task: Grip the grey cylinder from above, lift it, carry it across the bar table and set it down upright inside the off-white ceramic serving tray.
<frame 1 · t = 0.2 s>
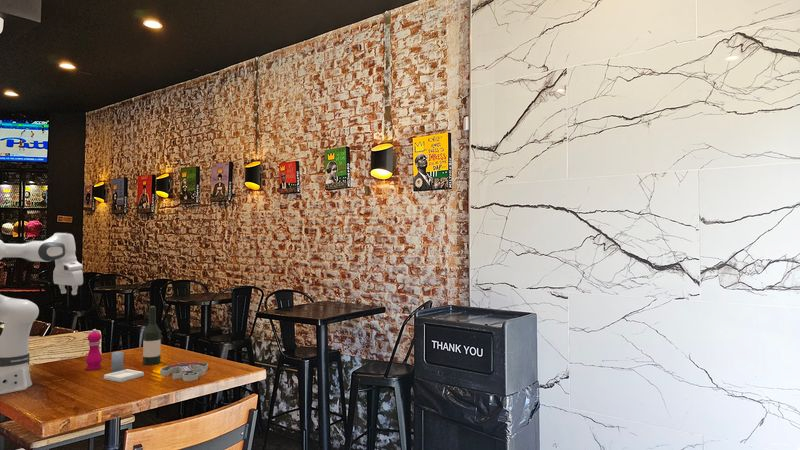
hand: (69, 293, 255), 39 cm above the table, tool pointing down, fingers open, 8 cm apart
serving tray: (124, 377, 249), on the table
decorative sign: (186, 374, 257), on the table
grey cylinder: (117, 370, 262), on the table
wine bottle: (151, 363, 277), on the table
pepper mill: (93, 369, 266), on the table
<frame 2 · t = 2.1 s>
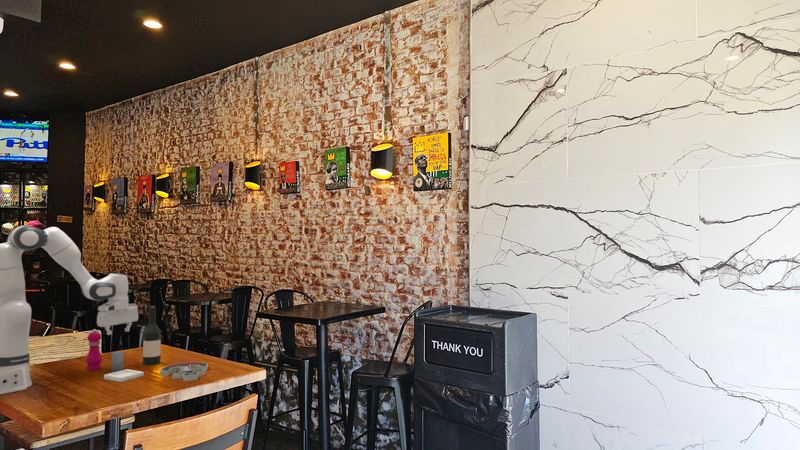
hand: (118, 333, 263), 19 cm above the table, tool pointing down, fingers open, 8 cm apart
nothing on the table moved.
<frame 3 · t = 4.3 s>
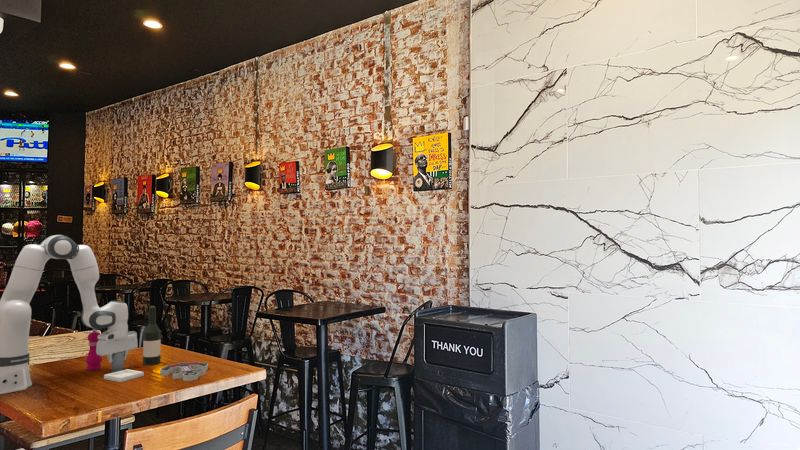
hand: (117, 361, 262), 5 cm above the table, tool pointing down, fingers closed on grey cylinder, 5 cm apart
grey cylinder: (117, 370, 262), on the table, touching gripper
everything else where it was.
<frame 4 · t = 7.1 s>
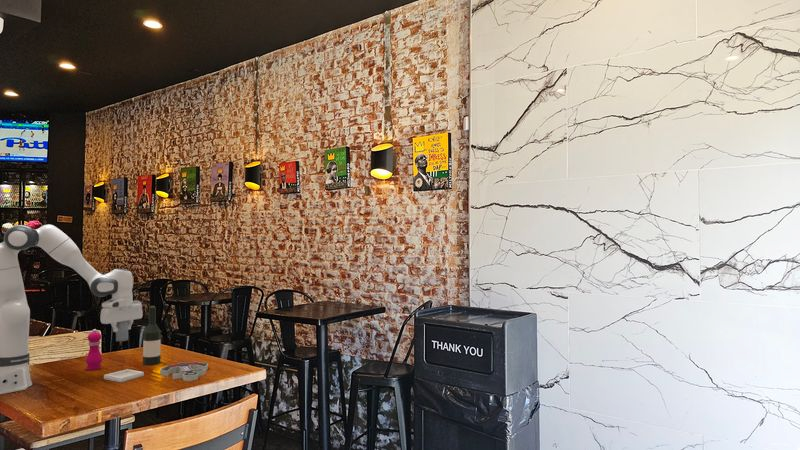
hand: (122, 330, 255), 21 cm above the table, tool pointing down, fingers closed on grey cylinder, 5 cm apart
grey cylinder: (122, 340, 255), point 17 cm above the table, touching gripper
everything else where it was.
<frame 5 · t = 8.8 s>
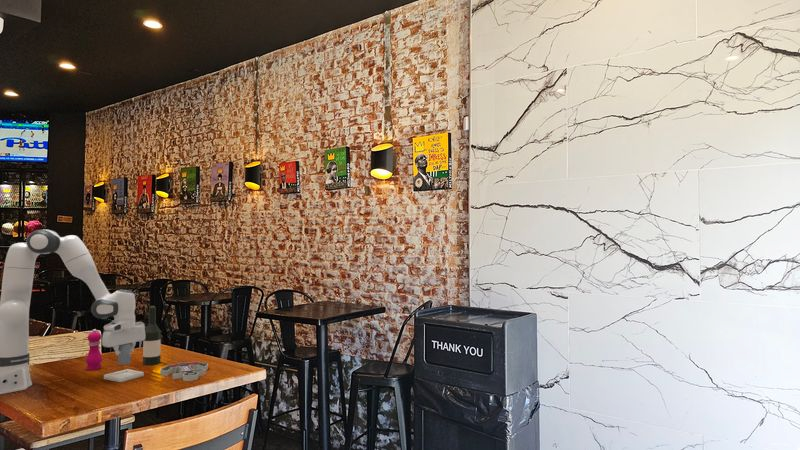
hand: (124, 353, 249), 11 cm above the table, tool pointing down, fingers closed on grey cylinder, 5 cm apart
grey cylinder: (124, 363, 249), point 7 cm above the table, touching gripper
everything else where it was.
when the fingers open (7 cm above the table, at t = 10.2 s): grey cylinder drops 1 cm, resting on serving tray.
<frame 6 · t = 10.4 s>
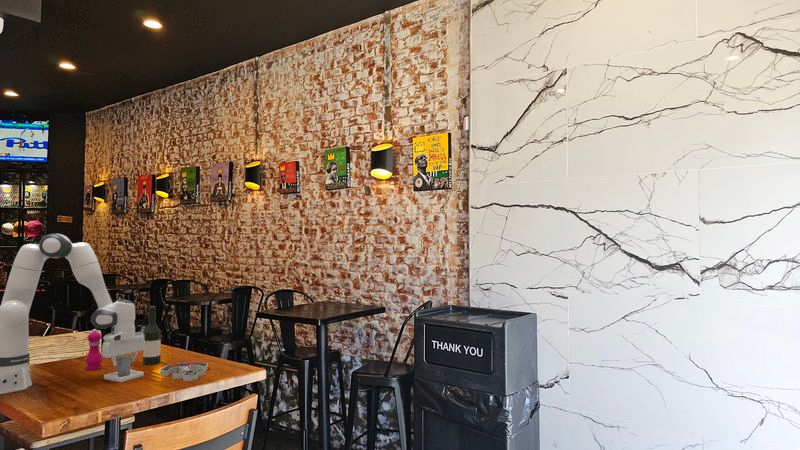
hand: (124, 363, 249), 7 cm above the table, tool pointing down, fingers open, 7 cm apart
grey cylinder: (123, 375, 249), point 1 cm above the table, touching serving tray
everything else where it was.
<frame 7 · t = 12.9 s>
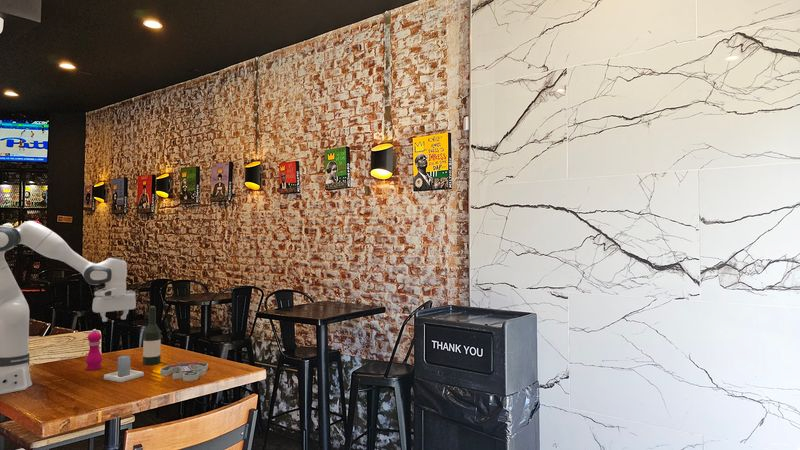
hand: (114, 320, 252), 27 cm above the table, tool pointing down, fingers open, 8 cm apart
nothing on the table moved.
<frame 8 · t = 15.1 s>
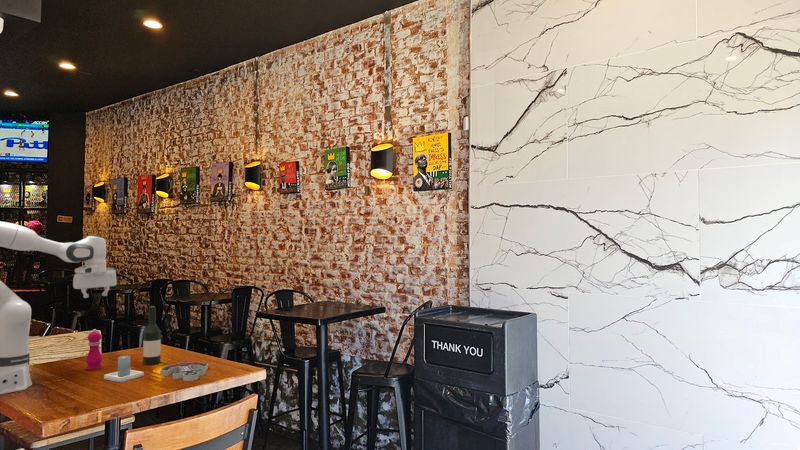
hand: (95, 296, 259), 37 cm above the table, tool pointing down, fingers open, 8 cm apart
nothing on the table moved.
at the end: grey cylinder inside the target area on the serving tray (0.0 cm from its centre), point 0.8 cm above the serving tray's base; grey cylinder tilted 0°; the gripper is holding nothing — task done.
